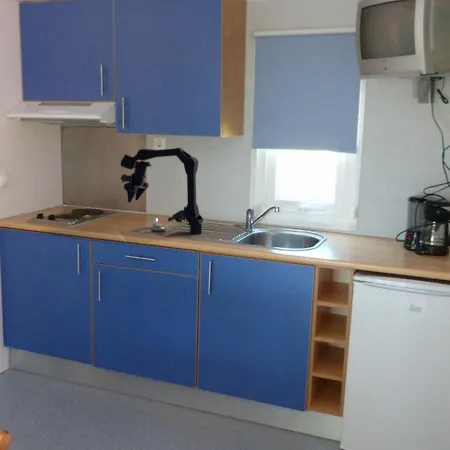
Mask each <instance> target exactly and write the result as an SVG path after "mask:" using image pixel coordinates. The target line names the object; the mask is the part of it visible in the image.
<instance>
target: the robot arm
mask: <svg viewBox="0 0 450 450" xmlns="http://www.w3.org/2000/svg"><path fill="white" fill-rule="evenodd" d="M175 156H176V157H177V159H179V161H180V162H181V163H182V164H183V166H184V171H185V174H186V190H187V191H186V192H187V193H186V194H187V199H186V200H187V202H186V203H187V204H186V205H185V206H184V207H183V210H184V215H185V218H186V219H187V220H188V223H187V224H188V225H189V234H191V235H195V236H198V235H199V236H200V235H202V234H203V233H202V228H203V227H202V226H203V225H202V223H203V222H204V218H203V217H202V215H201V214H200V211H199V210H200V209H199V206H198V203H197V179H196V178H197V177H196V176H197V171H198V170H199V169H198V168H199V160H198V158H196V157H195V156H192V155H191V154H190V153H188V152H187V151H185V150H184V149H182V147H176V148H166V149H165V148H164V149H153V148H141V149H138V151H137V153H136V154H135V155H134V156H131V155H130V154H124V156H123V157H122V159H121V160H120V166H121V167H122V168H124V169H127V170H131V171H134V172H132V173H131V174H130V175H129V174H128V175H127V173H125V174H122V175H121V176H120V180H121V182H122V183H124V184H123V189H124V190H125V191H126V193H127V203H131V202H132V200H133V199H134V197H135V201H138V200H139V199H140V198H141V197H142V195H143V194H144V193H145V191H147V189H148V188H149V185H150V184H149V183H148V182H147V181H145V180H144V179H146V178H147V175H146V173H147V168H150V167H152V164H151V162H150V161H147V160H152V159H155V158H160V157H161V158H163V157H175ZM186 219H185V220H186Z"/></svg>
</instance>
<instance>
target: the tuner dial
mask: <svg viewBox="0 0 450 450" xmlns="http://www.w3.org/2000/svg"><path fill="white" fill-rule="evenodd" d="M158 220H159V218H157V217H154V218H152V226H151V227H152V231H154V232H164V231H166V229H167V228H166V226H165V225H161V223H160V224H159V223H158V222H159V221H158Z"/></svg>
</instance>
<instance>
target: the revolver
mask: <svg viewBox="0 0 450 450" xmlns="http://www.w3.org/2000/svg"><path fill="white" fill-rule="evenodd" d="M167 221H168V222H173V221H176V223H182V222H183V221H184V224H185V225H186V224H189V223H188V220H187V219H186V218H185V215H184V209H181V210H179V211H177V212H176V213H174V214H172V216H171V217H168V218H167Z"/></svg>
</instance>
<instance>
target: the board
mask: <svg viewBox="0 0 450 450" xmlns="http://www.w3.org/2000/svg"><path fill="white" fill-rule="evenodd" d="M147 230H150V231H151V232H147ZM129 232H133V233H141V234H148V235H155V236H156V235H157V236H165V237H168V236H170V235H173V234H175V233H179V232H182V230H181V229H180V230H179V229H171V228H166V231H164V232H154V231H152V226H149V225H148V226H147V225H144V226H141V227H137V228H134V229H130V230H129Z"/></svg>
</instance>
